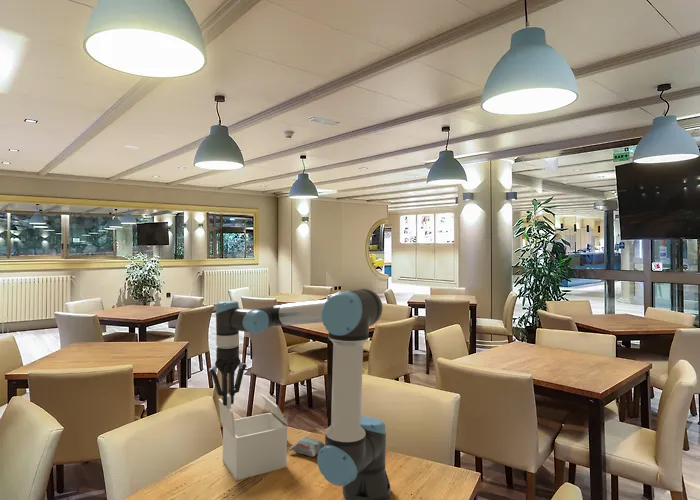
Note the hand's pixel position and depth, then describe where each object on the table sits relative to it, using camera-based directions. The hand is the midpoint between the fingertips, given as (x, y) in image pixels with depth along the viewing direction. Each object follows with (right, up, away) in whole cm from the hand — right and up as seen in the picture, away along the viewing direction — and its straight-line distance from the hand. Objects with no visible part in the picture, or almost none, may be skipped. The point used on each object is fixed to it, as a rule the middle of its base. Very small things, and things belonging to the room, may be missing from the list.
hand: (228, 413), depth 151 cm
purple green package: (+11, -20, +24) cm, 33 cm away
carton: (+8, -20, +5) cm, 22 cm away
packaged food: (+26, -20, +13) cm, 36 cm away
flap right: (+14, -2, +8) cm, 17 cm away
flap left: (0, -1, 0) cm, 1 cm away
